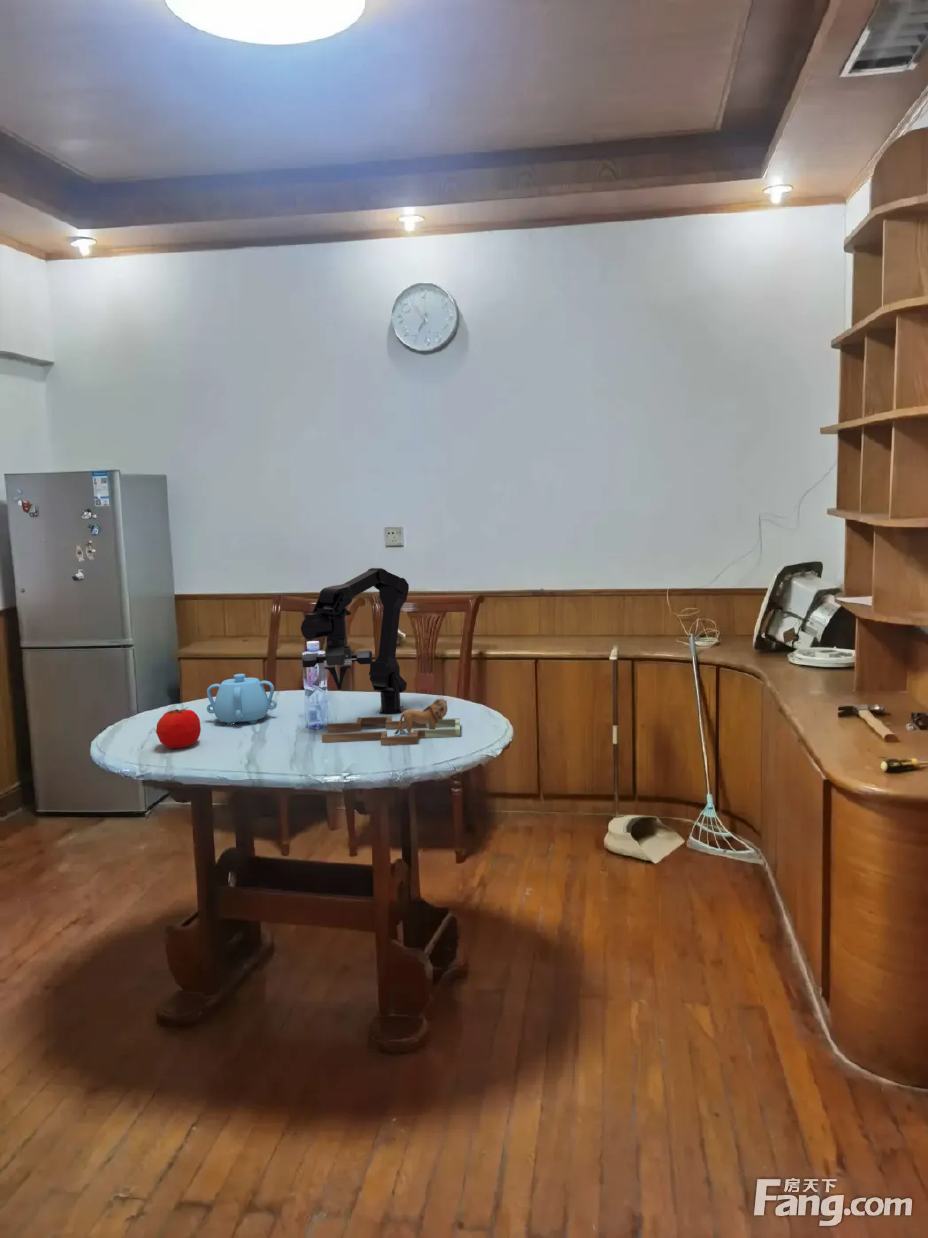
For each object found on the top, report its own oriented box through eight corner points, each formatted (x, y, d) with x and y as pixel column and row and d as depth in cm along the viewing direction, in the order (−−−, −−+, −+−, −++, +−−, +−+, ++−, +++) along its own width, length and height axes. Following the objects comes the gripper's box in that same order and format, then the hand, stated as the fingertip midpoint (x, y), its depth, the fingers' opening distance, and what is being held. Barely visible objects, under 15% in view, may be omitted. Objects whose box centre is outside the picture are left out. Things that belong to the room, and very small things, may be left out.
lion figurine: (446, 728, 253) (445, 696, 252) (450, 733, 248) (449, 700, 247) (393, 733, 250) (391, 701, 249) (395, 738, 245) (394, 705, 244)
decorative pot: (252, 710, 283) (248, 666, 281) (282, 718, 272) (278, 672, 270) (203, 722, 272) (199, 676, 270) (233, 730, 260) (229, 682, 258)
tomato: (213, 742, 249) (210, 704, 248) (176, 755, 239) (173, 716, 237) (183, 737, 255) (180, 700, 254) (146, 750, 244) (142, 712, 243)
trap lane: (330, 725, 261) (330, 719, 260) (459, 720, 261) (459, 713, 261) (319, 748, 239) (318, 740, 239) (460, 742, 239) (460, 734, 239)
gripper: (297, 640, 246) (302, 698, 248) (368, 637, 247) (372, 694, 249) (303, 633, 257) (307, 688, 259) (370, 630, 258) (374, 685, 260)
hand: (339, 689), depth 257 cm, fingers closed
